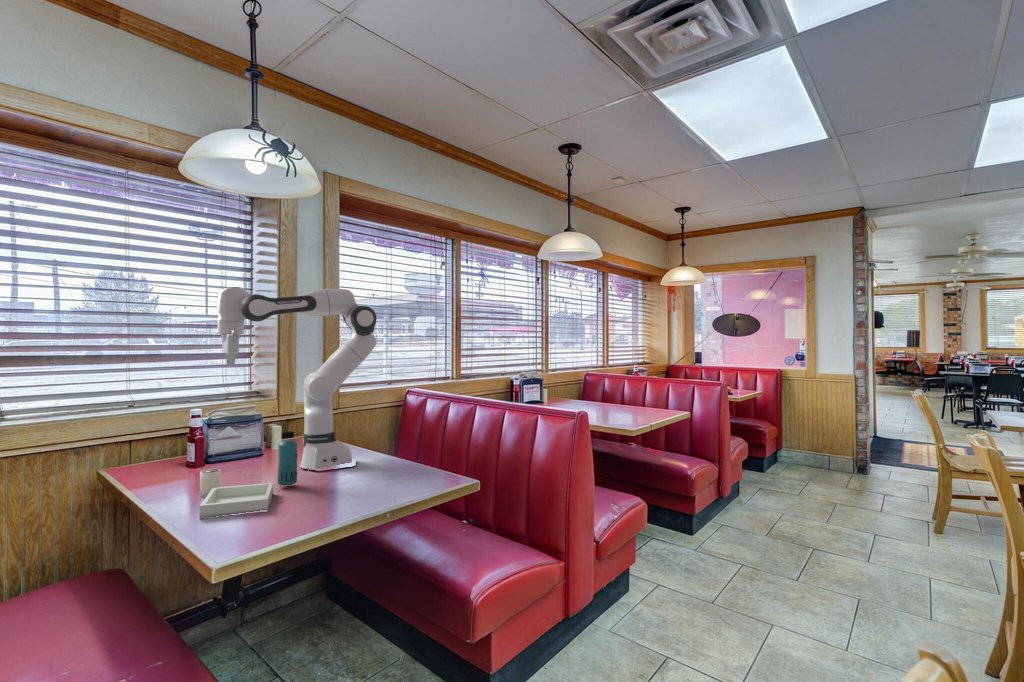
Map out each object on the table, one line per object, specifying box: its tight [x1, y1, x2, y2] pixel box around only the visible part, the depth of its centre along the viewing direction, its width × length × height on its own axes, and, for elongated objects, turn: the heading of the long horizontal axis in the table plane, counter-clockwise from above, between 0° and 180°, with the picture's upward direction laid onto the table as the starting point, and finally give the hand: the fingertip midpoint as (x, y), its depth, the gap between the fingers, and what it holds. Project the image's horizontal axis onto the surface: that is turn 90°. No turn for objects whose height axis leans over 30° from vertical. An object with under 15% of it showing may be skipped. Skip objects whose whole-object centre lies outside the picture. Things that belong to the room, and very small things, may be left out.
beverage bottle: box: [277, 430, 299, 487], centre depth 175 cm, size 6×7×20 cm
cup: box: [199, 468, 222, 498], centre depth 166 cm, size 6×6×8 cm
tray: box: [199, 482, 274, 520], centre depth 156 cm, size 18×18×4 cm
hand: (230, 365), depth 187 cm, fingers open, 8 cm apart
